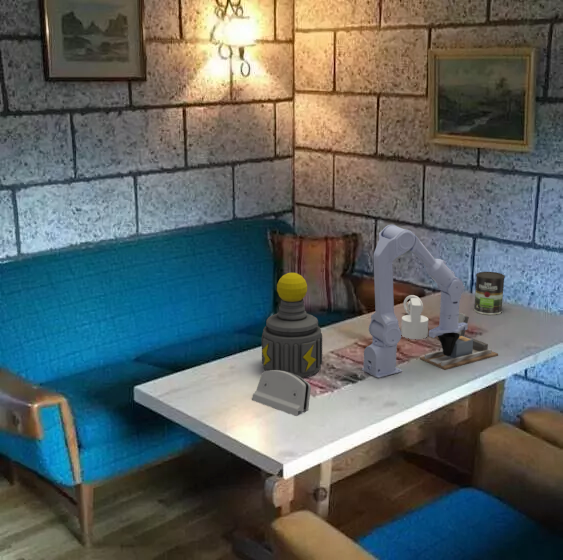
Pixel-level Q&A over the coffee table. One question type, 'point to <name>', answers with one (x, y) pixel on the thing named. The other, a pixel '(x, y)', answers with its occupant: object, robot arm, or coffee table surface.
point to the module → (462, 347)
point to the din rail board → (448, 362)
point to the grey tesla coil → (292, 332)
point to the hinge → (283, 391)
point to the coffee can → (489, 293)
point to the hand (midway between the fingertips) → (447, 355)
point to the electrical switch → (461, 319)
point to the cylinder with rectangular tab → (414, 322)
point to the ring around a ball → (409, 303)
